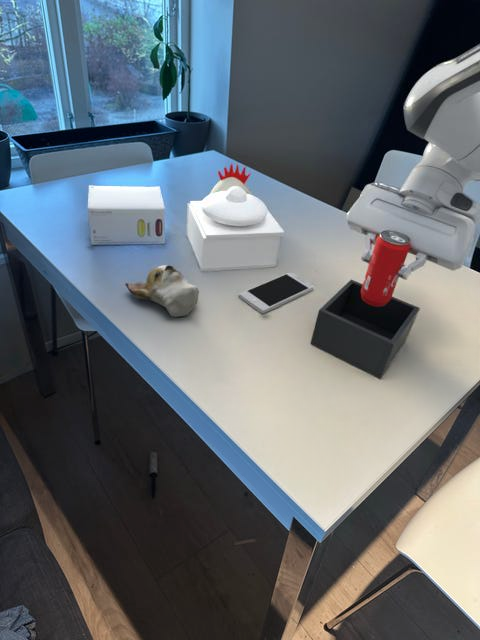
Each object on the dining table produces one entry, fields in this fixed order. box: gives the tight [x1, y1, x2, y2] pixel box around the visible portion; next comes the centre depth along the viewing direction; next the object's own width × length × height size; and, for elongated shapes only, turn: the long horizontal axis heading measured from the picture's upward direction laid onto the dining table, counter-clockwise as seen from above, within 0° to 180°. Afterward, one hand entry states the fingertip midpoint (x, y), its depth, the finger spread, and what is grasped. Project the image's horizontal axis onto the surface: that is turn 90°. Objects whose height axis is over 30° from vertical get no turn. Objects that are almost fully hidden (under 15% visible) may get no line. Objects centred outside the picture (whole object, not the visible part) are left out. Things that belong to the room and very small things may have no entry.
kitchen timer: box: [209, 163, 253, 195], centre depth 115 cm, size 14×14×15 cm
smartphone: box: [239, 271, 315, 314], centre depth 93 cm, size 7×15×1 cm, turn 132°
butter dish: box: [186, 187, 285, 272], centre depth 102 cm, size 18×18×16 cm
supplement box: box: [87, 184, 166, 246], centre depth 106 cm, size 17×13×9 cm
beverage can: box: [361, 230, 410, 307], centre depth 74 cm, size 5×5×12 cm
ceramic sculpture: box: [124, 264, 200, 318], centre depth 85 cm, size 11×9×15 cm
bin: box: [310, 279, 421, 380], centre depth 81 cm, size 14×14×8 cm
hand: (383, 269), depth 73 cm, fingers closed on beverage can, 5 cm apart
